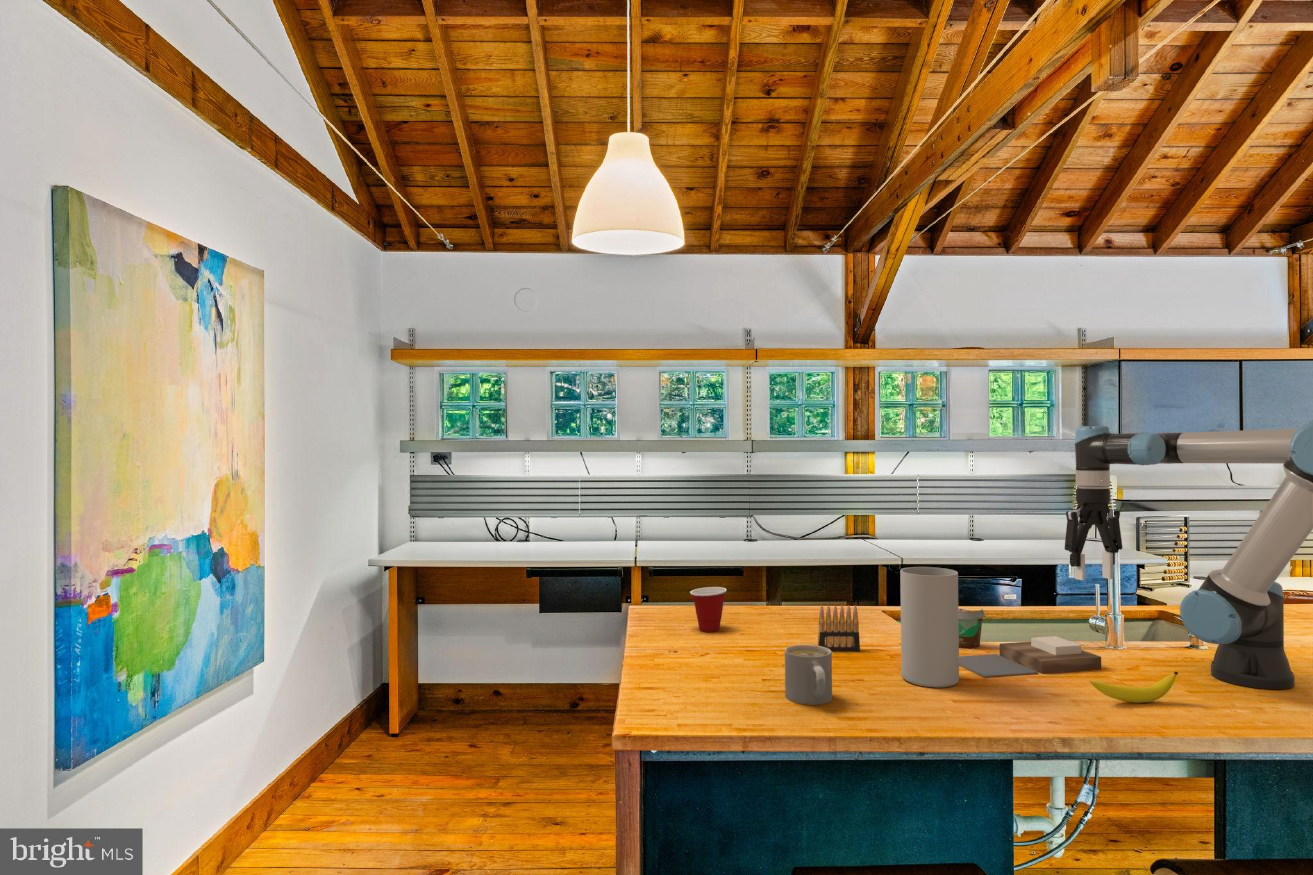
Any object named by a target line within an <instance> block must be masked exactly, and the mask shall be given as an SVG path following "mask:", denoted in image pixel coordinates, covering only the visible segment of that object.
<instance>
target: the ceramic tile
mask: <svg viewBox="0 0 1313 875" xmlns="http://www.w3.org/2000/svg"><path fill="white" fill-rule="evenodd" d="M1030 642H1031V646H1033V647H1036V648H1039V649H1041V650H1044V651H1046V652H1049V653H1051V654H1054V655H1066V654H1081V650H1082V644H1078V643H1076V642H1073V641H1071V640H1068V639H1065V638H1063V637H1062V638H1061V637H1059V636H1056V635H1055V636H1054V635H1053V636H1038V637H1031V638H1030Z"/></svg>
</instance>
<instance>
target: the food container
mask: <svg viewBox="0 0 1313 875" xmlns="http://www.w3.org/2000/svg"><path fill="white" fill-rule="evenodd" d="M985 617H986V613H985V611H984V608H982V609H979V610H973V611H972V610H967V609H965V608H964V609H962V608H958V624H959V649H966V650H967V649H968V650H969V649H970V650H971V649H976V648H979V647H980V646H981V636H982V628H983V627H982V625H983V619H985Z"/></svg>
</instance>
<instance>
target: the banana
mask: <svg viewBox="0 0 1313 875" xmlns="http://www.w3.org/2000/svg"><path fill="white" fill-rule="evenodd" d="M1178 674H1179V671H1174V673H1172V674H1169V675H1167V676H1165V677H1163V678H1161V679H1160V680H1159V681H1157V682H1156V683H1153V684H1151V685H1149V686H1141V687H1140V686H1136V687H1134V686H1122V685H1116V684H1112V683H1106V682H1103V681H1098V680H1089V683H1090V684H1091V685H1092V687H1093V688H1094V689H1096V690H1097V691H1098V692H1100V693H1101V694H1103V695H1104V696H1106V697H1109V698H1111V699H1114V700H1118V701H1123V702H1127V703H1132V704H1135V703H1136V704H1141V703H1142V704H1144V703H1150V702H1155V701H1157V700H1159V699H1161V698H1162V697H1164V696H1166V694H1167V693H1168V692H1169V691H1170V690H1171V688H1172V686H1173V685H1174V683H1175V680H1176V676H1177V675H1178Z"/></svg>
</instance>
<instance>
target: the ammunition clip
mask: <svg viewBox="0 0 1313 875" xmlns="http://www.w3.org/2000/svg"><path fill="white" fill-rule="evenodd" d="M851 610H852V609H851V607H850V605H847V607H846V615H845V610H844V606H843V605H842V604H841V606H840V608H839V613H838V608H837V604H836V605H834V607H833V610H832V611H831V607H830V605H827V607H826V613H825V612H824V611H825V610H824V607H823V605H822V604H821V605H820V608H819V618H818V636H817V637H818V638H817V639H818V642H817V643H818V644H817V646H822V647H825V648H828V649H830V650H831V652H832V653H833V652H834V653H837V652H838V653H840V652H841V653H843V652H844V653H845V652H846V653H848V652H855V653H856V652H858V653H860V652H861V645H860V643H861V642H860V630H859V629H860V627H859V626H860V624H859V623H860V622H859V616H858V615H859V614H858V608H857V605H854V607H853V611H851ZM831 612H832V614H831ZM825 614H826V616H825ZM838 614H839V615H838ZM845 616H846V617H845ZM845 618H846V619H845Z"/></svg>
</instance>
